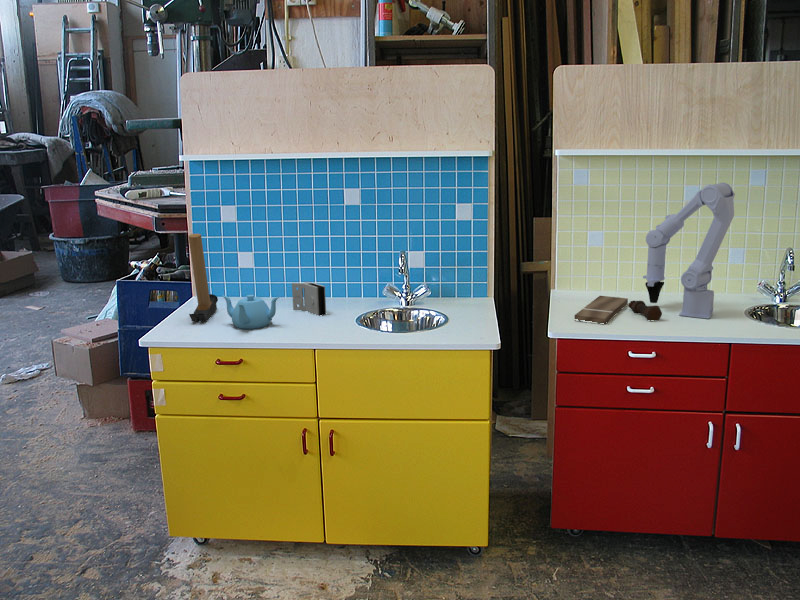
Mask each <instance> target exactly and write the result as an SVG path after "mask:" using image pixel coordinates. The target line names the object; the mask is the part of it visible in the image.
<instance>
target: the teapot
mask: <svg viewBox="0 0 800 600" xmlns="http://www.w3.org/2000/svg"><path fill="white" fill-rule="evenodd" d="M221 296H222V298H223V299H224V300H225V302H226V311H227V314H228V316H229V317H230V318H231V323H232V324H233V325H234V326H235V327H236V328H238V329H242V330H256V329H262V328H265V327H267V326H268V325H269V324H270V323H271V321H272V319H273V318H274V317H275V314H276V311H277V307H276V303H277V301H278V299H280V296H276V297H273V298H272V299H271V302H270V303H271V304H270V307H269V306H268V304H267V302H265V300H264V299H263V298H261V297H260V296H255V295H254V294H247V295H246V296H245V297H244V298H240V299H239V300H238V302H237V303H236V305H235V306H234V307H233V305H232V301H231V298H230V297H229V296H227V295H224V294H221Z"/></svg>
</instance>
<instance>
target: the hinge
mask: <svg viewBox="0 0 800 600" xmlns="http://www.w3.org/2000/svg"><path fill="white" fill-rule="evenodd" d="M291 289H292V290H291V292H292V308H293V309H292V310H302V311H301V312H306V311H308V312H307V313H309V312H310V313H309V314H312V313H313V314H312V315H314V314H316V315H315V316H317V315H319V316H320V315H322V314H323V315H322V316H326V315H327V305H326V303H327V301H326V286H325V285H322V284H320V283H319V284H318V283H316V282H310V281H305V282H291ZM303 310H304V311H303Z"/></svg>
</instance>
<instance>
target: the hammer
mask: <svg viewBox="0 0 800 600" xmlns="http://www.w3.org/2000/svg"><path fill="white" fill-rule="evenodd" d="M187 238H188V244H189V250H190V256H191V257H190V258H191V262H192V263H191V265H192V271H193V279H194V284H195V290H196V291H195V292H196V299H197V306H196V308H195V310H194V311H193V313H189V314H188V315H189V318H190V319H191V322H209V320H210V319H211V318H212V317H213V316H214V315H215V312H216V311H217V310H218V307H217V306H218V305H217V303H218V301H219V299H218V298H219V297H218V296H217V295H215V294H211V293H210V290H209V283H208V282H209V281H208V276H207V275H208V273H207V268H206V260H205V255H204V254H205V253H204V246H203V240H202V239H203V237H202V234H201V233H191V234H189V235H188V237H187ZM212 315H213V316H212ZM211 316H212V317H211ZM210 317H211V318H210ZM209 318H210V319H209ZM208 319H209V320H208Z"/></svg>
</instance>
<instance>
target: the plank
mask: <svg viewBox="0 0 800 600" xmlns="http://www.w3.org/2000/svg"><path fill="white" fill-rule="evenodd" d="M628 301H629V298H626V297H618V296H607V295H599V296H597V297H596V298H595V299H593V300H592V301H591V302H590V303H588V304H587V305H586V306H584V307H583V308H581V310H580V311H578V312H577V313H576V314H574V319H578V320H585V321H592V322H598V323H604V324H605V323H606V322H607V321H608V322H609V321H611V320H612V319H613V318H614V317H615V316H616V315H617V314H618V313H619V312H621V311H622V310H623V309H624V308H625V307H626V306H627V305H629V303H628ZM623 307H624V308H623ZM622 308H623V309H622ZM616 313H617V314H616ZM615 314H616V315H615ZM614 315H615V316H614ZM613 316H614V317H613ZM612 317H613V318H612ZM611 318H612V319H611ZM610 319H611V320H610ZM608 322H607V323H608ZM607 323H606V324H607ZM606 324H605V325H606Z"/></svg>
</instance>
